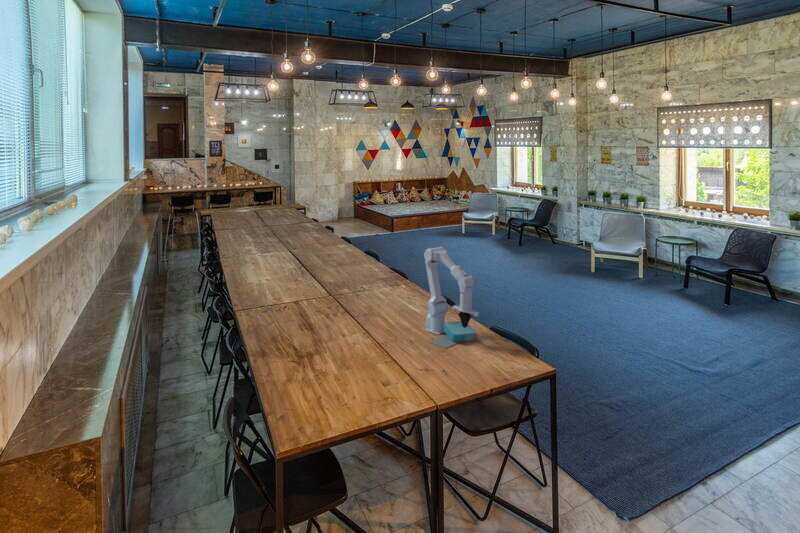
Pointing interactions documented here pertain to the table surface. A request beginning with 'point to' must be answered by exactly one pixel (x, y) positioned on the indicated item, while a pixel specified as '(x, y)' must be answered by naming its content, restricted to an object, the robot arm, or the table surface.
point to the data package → (459, 331)
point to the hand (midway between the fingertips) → (464, 326)
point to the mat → (443, 341)
